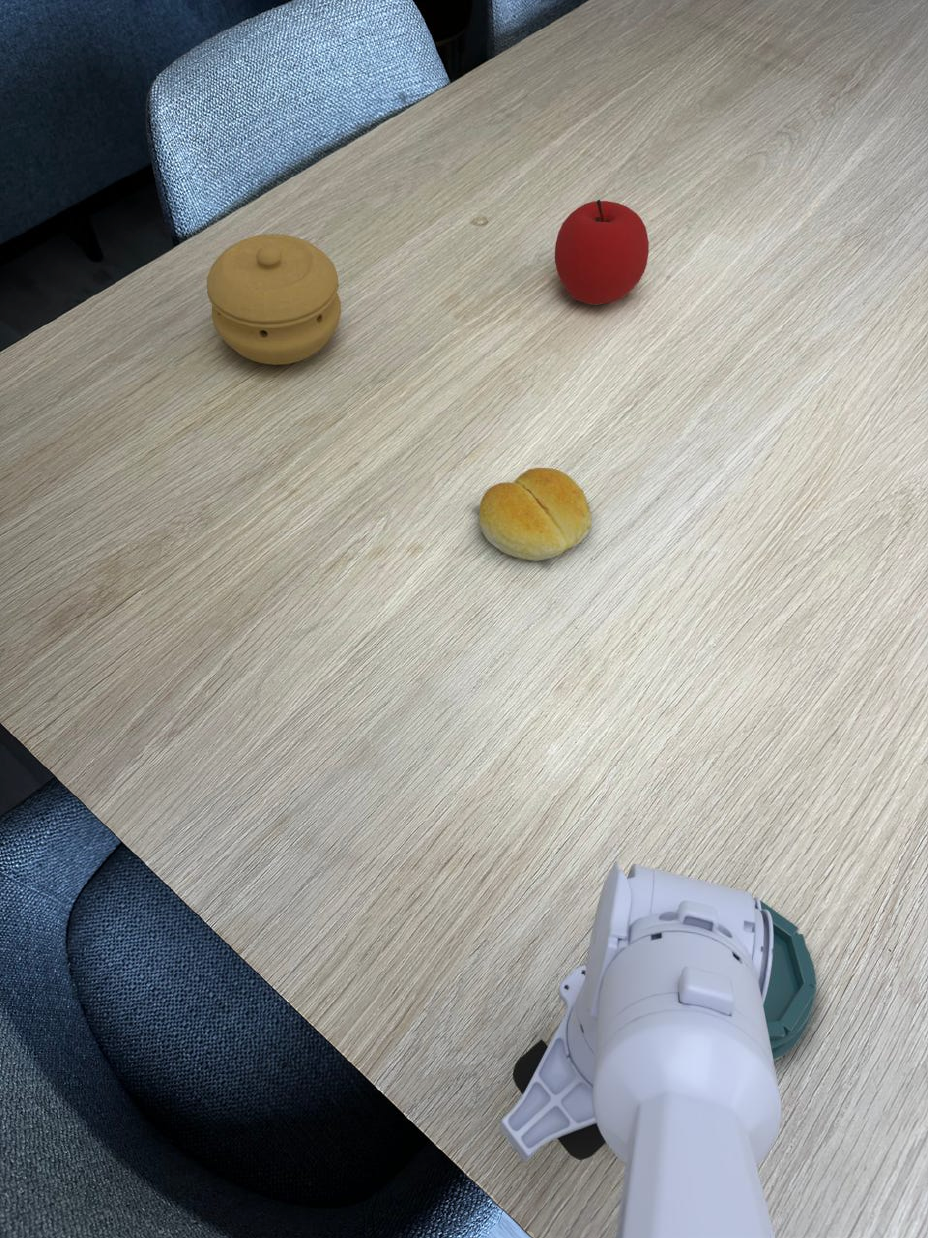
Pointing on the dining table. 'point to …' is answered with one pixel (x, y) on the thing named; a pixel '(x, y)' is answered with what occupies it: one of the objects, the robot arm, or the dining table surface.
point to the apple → (601, 252)
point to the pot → (274, 298)
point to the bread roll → (535, 515)
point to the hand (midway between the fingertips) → (599, 1078)
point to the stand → (788, 986)
